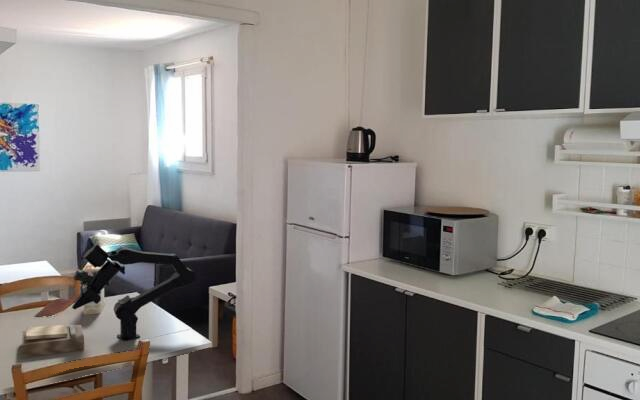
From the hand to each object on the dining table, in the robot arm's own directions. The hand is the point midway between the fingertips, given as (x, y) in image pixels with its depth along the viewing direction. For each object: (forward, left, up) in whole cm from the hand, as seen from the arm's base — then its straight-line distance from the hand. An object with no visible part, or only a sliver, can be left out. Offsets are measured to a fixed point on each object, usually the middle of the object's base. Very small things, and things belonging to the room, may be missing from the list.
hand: (73, 308), depth 204 cm
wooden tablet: (+49, -11, -14) cm, 53 cm away
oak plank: (+3, +8, -8) cm, 12 cm away
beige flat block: (+2, +6, -13) cm, 15 cm away
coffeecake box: (+37, -23, -13) cm, 46 cm away
